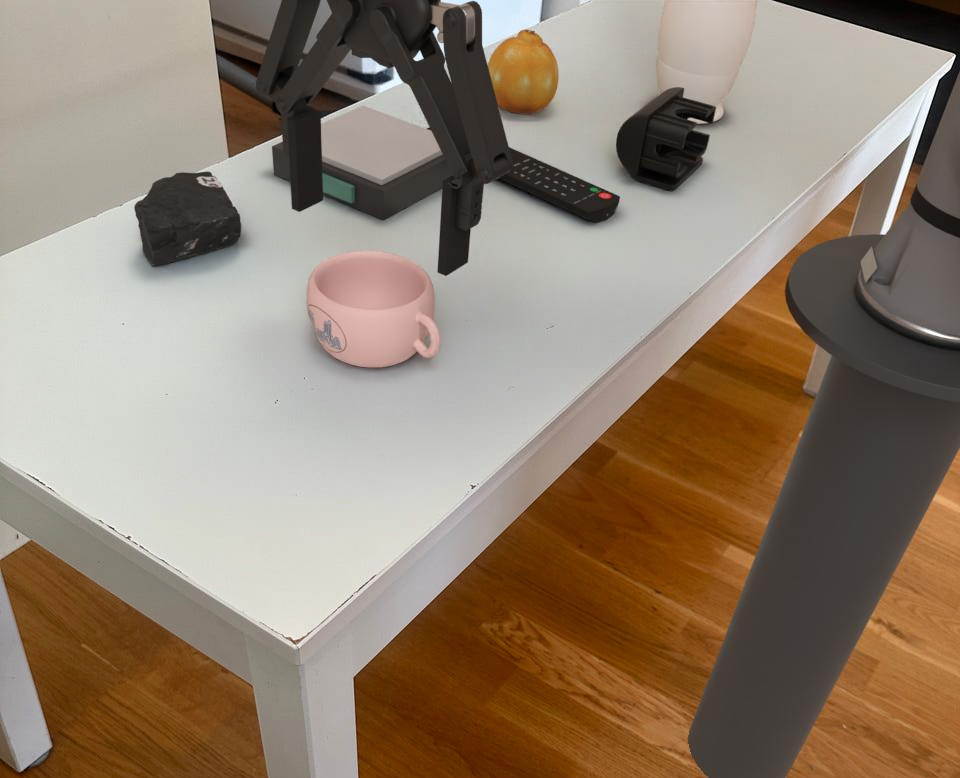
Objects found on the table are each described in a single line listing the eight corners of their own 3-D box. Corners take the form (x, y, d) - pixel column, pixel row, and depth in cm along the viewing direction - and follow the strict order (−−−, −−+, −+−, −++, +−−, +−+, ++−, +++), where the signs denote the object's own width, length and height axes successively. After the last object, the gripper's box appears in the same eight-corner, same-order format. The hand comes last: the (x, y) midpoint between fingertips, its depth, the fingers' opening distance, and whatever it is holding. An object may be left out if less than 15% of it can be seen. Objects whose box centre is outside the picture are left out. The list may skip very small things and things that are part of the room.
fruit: (551, 69, 121) (527, 7, 114) (578, 102, 116) (556, 39, 110) (492, 109, 122) (465, 50, 115) (517, 143, 118) (491, 84, 111)
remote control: (448, 133, 112) (448, 120, 111) (622, 211, 102) (624, 198, 101) (414, 145, 109) (415, 132, 108) (590, 227, 99) (592, 214, 98)
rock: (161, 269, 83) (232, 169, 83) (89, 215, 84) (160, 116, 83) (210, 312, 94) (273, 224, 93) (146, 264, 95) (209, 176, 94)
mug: (283, 347, 81) (277, 278, 77) (367, 301, 87) (366, 235, 83) (395, 409, 77) (396, 339, 72) (476, 357, 82) (482, 290, 78)
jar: (692, 136, 116) (726, -13, 105) (626, 105, 121) (651, -41, 110) (748, 117, 122) (786, -27, 111) (682, 88, 126) (712, -53, 115)
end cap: (646, 144, 114) (658, 79, 109) (704, 162, 112) (720, 96, 107) (609, 175, 108) (620, 107, 103) (670, 194, 106) (685, 126, 101)
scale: (467, 174, 105) (469, 140, 103) (380, 222, 97) (380, 186, 94) (362, 134, 110) (362, 101, 107) (270, 176, 102) (267, 141, 99)
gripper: (179, -155, 61) (217, 196, 77) (526, -53, 53) (488, 317, 68) (266, -169, 65) (284, 165, 81) (598, -76, 57) (547, 276, 73)
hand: (378, 235), depth 75 cm, fingers open, 13 cm apart
